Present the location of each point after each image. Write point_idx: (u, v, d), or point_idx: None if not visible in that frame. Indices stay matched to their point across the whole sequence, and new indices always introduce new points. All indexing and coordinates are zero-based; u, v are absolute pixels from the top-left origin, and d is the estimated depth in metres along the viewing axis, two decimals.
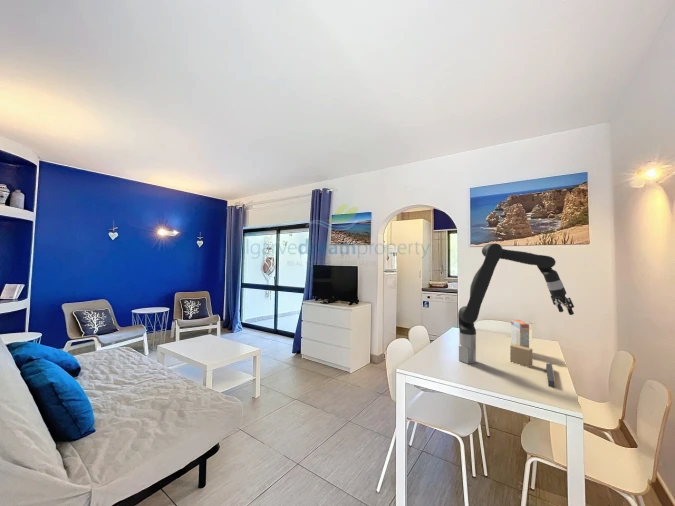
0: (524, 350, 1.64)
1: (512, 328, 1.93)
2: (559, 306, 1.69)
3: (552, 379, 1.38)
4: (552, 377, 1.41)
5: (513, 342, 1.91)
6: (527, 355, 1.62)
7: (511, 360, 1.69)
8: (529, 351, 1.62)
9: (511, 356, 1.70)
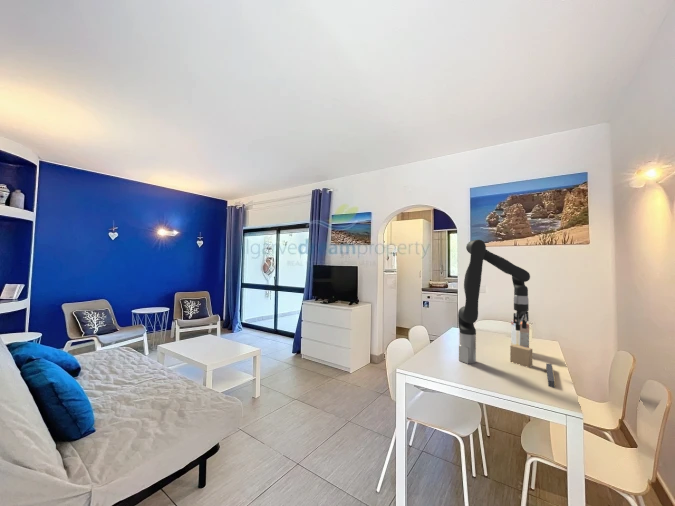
0: (524, 350, 1.64)
1: (512, 328, 1.93)
2: (523, 322, 1.70)
3: (552, 379, 1.38)
4: (552, 377, 1.41)
5: (513, 342, 1.91)
6: (527, 355, 1.62)
7: (511, 360, 1.69)
8: (529, 351, 1.62)
9: (511, 356, 1.70)
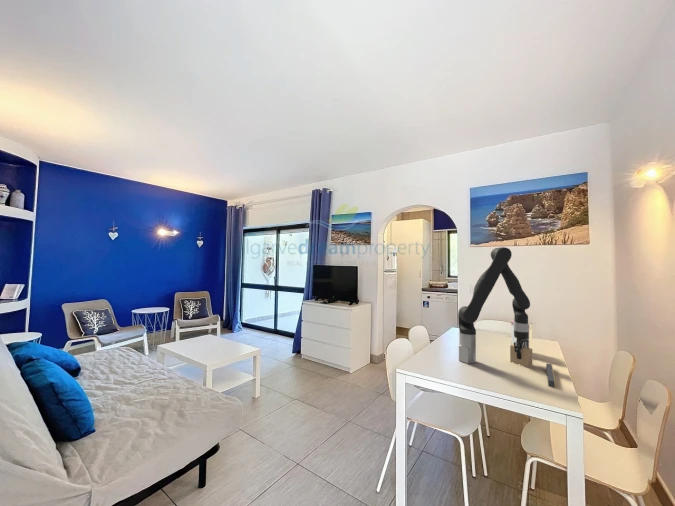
0: (524, 350, 1.64)
1: (512, 328, 1.93)
2: None
3: (552, 379, 1.38)
4: (552, 377, 1.41)
5: (513, 342, 1.91)
6: (527, 355, 1.62)
7: (511, 360, 1.69)
8: (529, 351, 1.62)
9: (511, 356, 1.69)
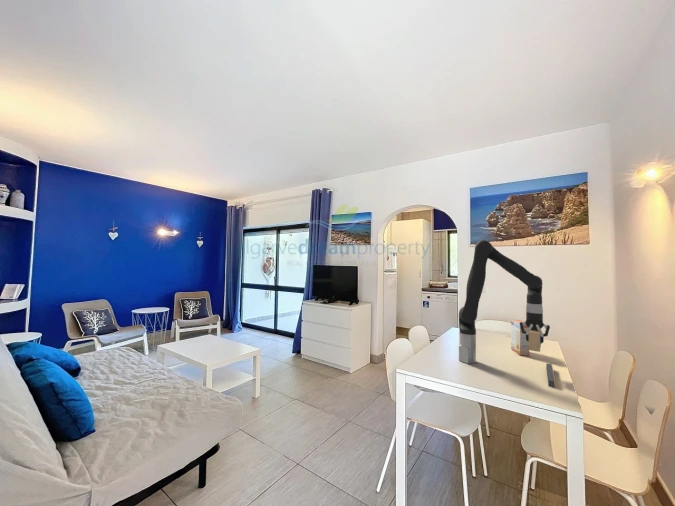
0: None
1: (512, 328, 1.93)
2: None
3: (552, 379, 1.38)
4: (552, 377, 1.41)
5: (513, 342, 1.91)
6: None
7: None
8: (531, 333, 1.49)
9: None
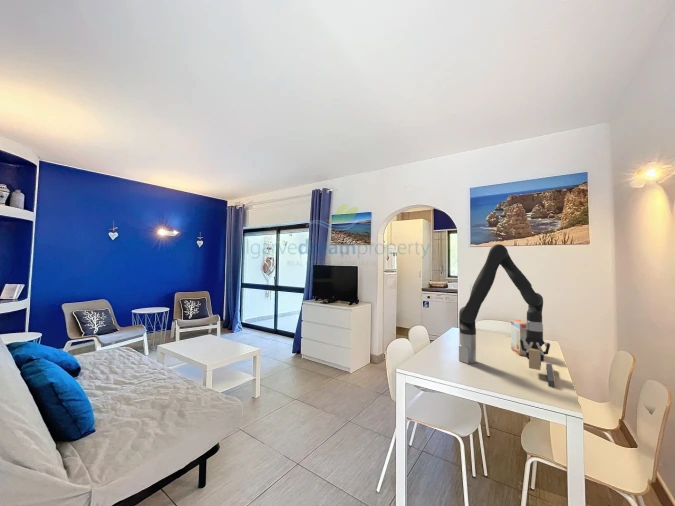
0: None
1: (512, 328, 1.93)
2: None
3: (552, 379, 1.38)
4: (552, 377, 1.41)
5: (513, 342, 1.91)
6: None
7: None
8: (531, 351, 1.49)
9: None
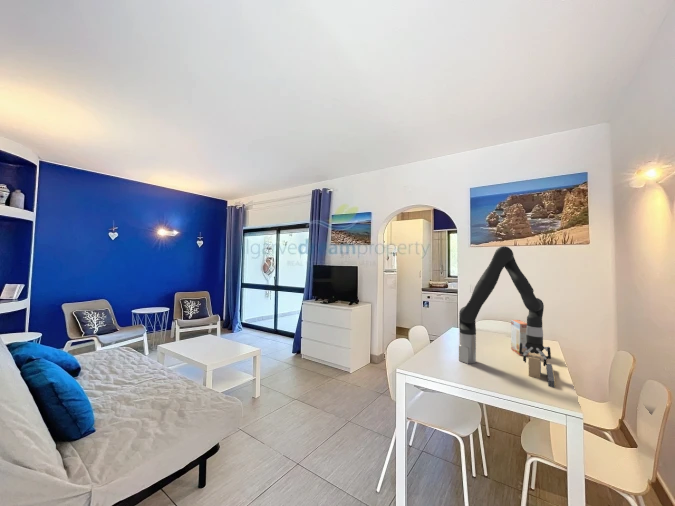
0: None
1: (512, 328, 1.93)
2: (543, 359, 1.50)
3: (552, 379, 1.38)
4: (552, 377, 1.41)
5: (513, 342, 1.91)
6: None
7: None
8: (531, 359, 1.49)
9: None
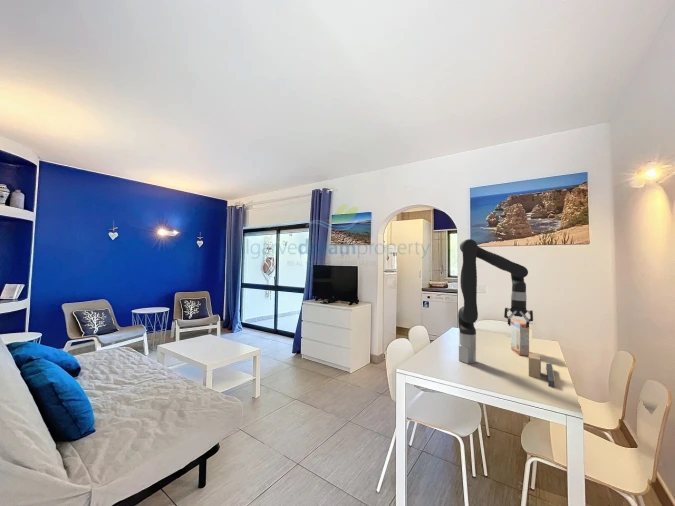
0: None
1: (512, 328, 1.93)
2: (526, 321, 1.61)
3: (552, 379, 1.38)
4: (552, 377, 1.41)
5: (513, 342, 1.91)
6: None
7: None
8: (531, 359, 1.49)
9: None
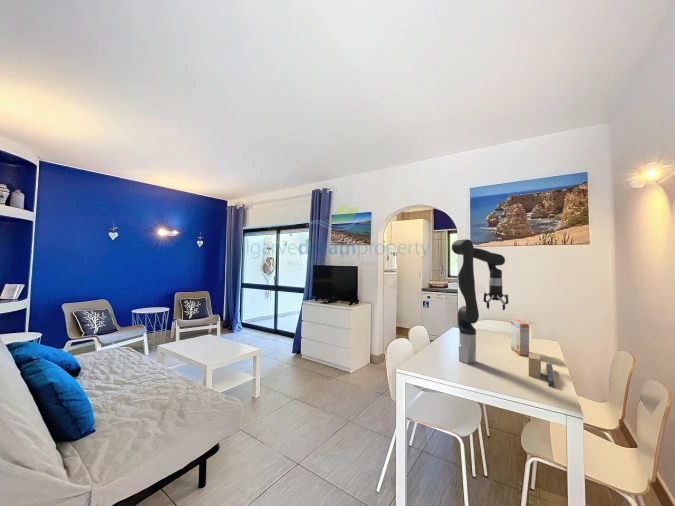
0: None
1: (512, 328, 1.93)
2: None
3: (552, 379, 1.38)
4: (552, 377, 1.41)
5: (513, 342, 1.91)
6: None
7: None
8: (531, 359, 1.49)
9: None
